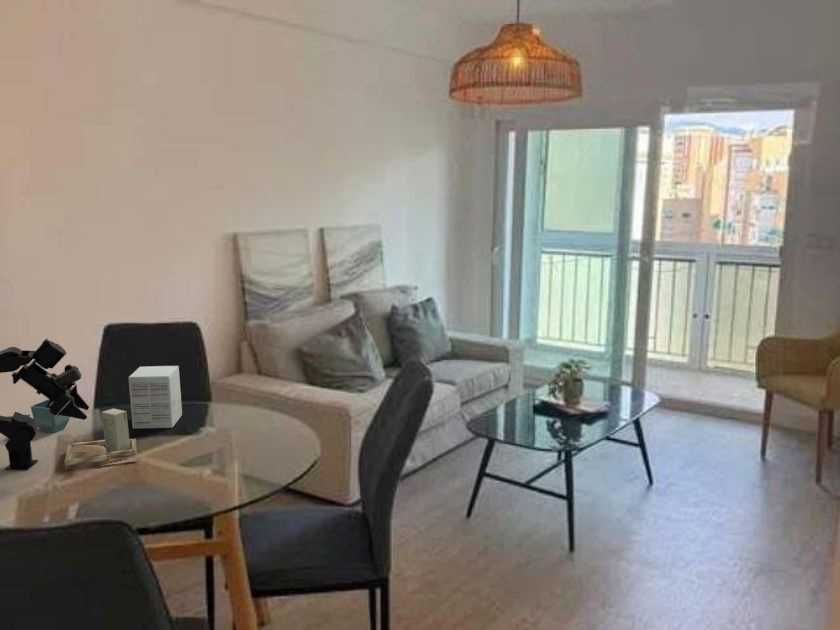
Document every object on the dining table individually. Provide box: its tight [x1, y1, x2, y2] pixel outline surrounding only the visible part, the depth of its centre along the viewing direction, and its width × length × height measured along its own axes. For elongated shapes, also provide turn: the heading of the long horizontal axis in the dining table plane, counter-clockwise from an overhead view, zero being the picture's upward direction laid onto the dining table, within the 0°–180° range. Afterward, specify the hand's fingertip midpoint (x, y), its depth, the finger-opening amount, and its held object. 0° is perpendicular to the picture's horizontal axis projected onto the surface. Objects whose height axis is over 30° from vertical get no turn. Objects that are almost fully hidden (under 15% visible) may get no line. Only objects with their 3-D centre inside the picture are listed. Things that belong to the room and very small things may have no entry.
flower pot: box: [30, 398, 71, 434], centre depth 252 cm, size 9×9×9 cm
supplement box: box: [128, 365, 183, 429], centre depth 259 cm, size 13×13×18 cm
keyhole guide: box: [63, 438, 138, 472], centre depth 230 cm, size 19×16×3 cm
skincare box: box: [101, 408, 130, 452], centre depth 230 cm, size 6×4×12 cm
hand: (87, 413), depth 227 cm, fingers open, 9 cm apart
